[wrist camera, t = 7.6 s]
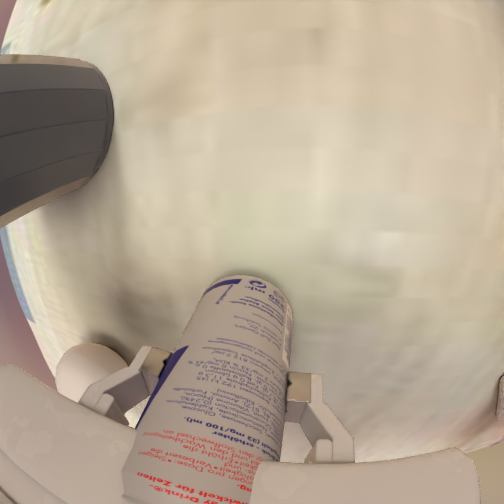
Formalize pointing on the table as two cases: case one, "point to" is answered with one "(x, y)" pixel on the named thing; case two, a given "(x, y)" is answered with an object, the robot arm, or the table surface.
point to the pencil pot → (49, 129)
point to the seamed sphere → (85, 368)
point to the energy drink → (216, 400)
